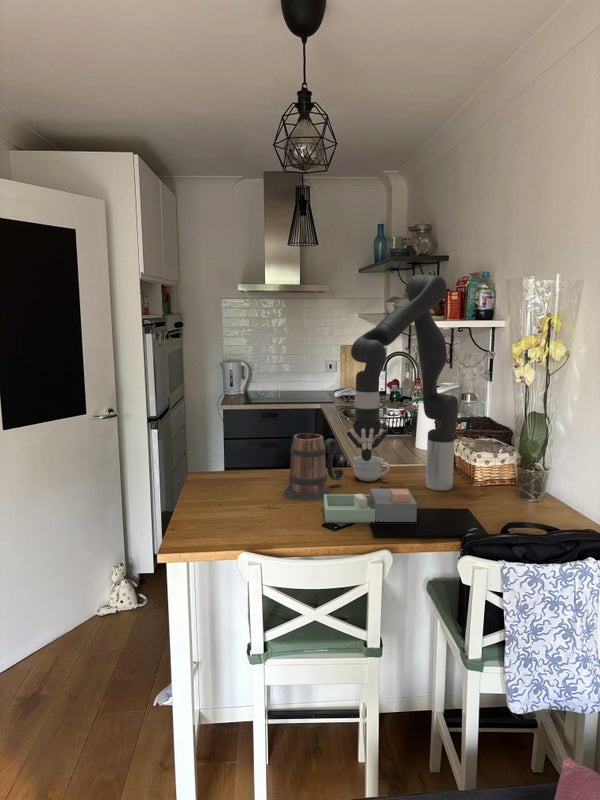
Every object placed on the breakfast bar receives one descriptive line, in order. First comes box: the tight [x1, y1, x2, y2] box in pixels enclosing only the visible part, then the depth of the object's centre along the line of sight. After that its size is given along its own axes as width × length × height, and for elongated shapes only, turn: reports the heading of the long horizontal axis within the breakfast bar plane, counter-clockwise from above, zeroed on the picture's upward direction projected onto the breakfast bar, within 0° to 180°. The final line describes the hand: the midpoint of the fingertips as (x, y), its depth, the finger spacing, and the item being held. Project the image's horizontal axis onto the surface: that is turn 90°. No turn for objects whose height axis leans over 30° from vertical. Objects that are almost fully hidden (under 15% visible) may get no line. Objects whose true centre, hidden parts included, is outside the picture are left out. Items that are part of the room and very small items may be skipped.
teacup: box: [353, 455, 390, 482], centre depth 211 cm, size 14×11×8 cm
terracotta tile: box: [389, 488, 410, 503], centre depth 172 cm, size 5×5×2 cm
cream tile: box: [353, 493, 367, 509], centre depth 177 cm, size 5×5×2 cm
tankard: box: [282, 432, 344, 502], centre depth 197 cm, size 24×17×20 cm
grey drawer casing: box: [369, 488, 418, 523], centre depth 176 cm, size 14×12×6 cm
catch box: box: [323, 494, 376, 524], centre depth 176 cm, size 14×15×4 cm
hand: (366, 460), depth 177 cm, fingers closed
